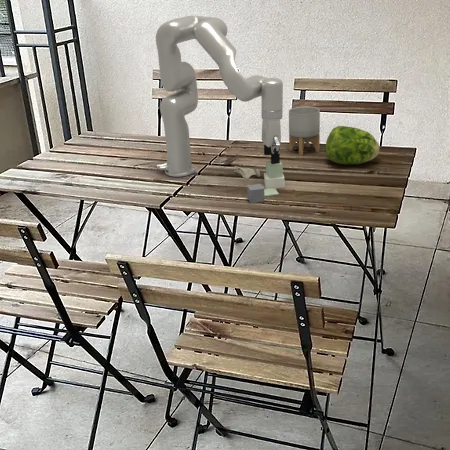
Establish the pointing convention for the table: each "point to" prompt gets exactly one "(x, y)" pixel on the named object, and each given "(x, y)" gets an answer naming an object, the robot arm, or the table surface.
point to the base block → (274, 182)
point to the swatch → (270, 192)
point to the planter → (304, 127)
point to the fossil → (247, 172)
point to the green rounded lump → (351, 146)
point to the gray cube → (255, 193)
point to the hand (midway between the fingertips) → (271, 159)
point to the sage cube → (274, 170)
